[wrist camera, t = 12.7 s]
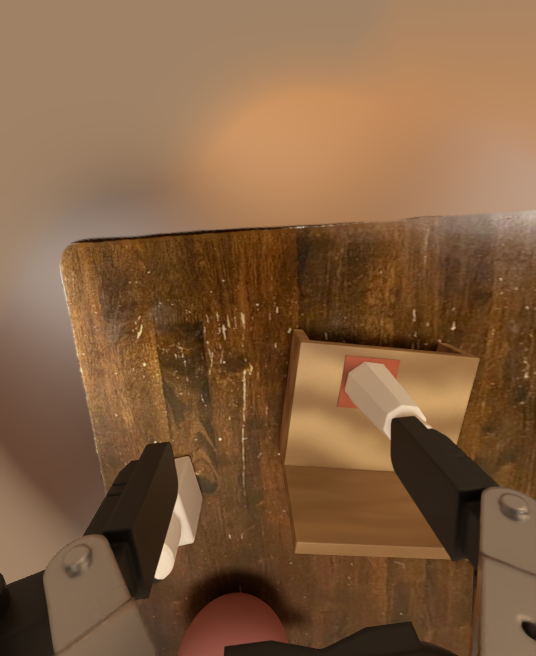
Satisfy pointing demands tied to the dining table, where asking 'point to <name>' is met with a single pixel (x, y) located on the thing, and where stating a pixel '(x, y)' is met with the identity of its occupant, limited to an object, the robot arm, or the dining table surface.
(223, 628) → the balloon
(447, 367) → the shelf
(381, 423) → the pepper shaker
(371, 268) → the dining table surface
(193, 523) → the medicine bottle
